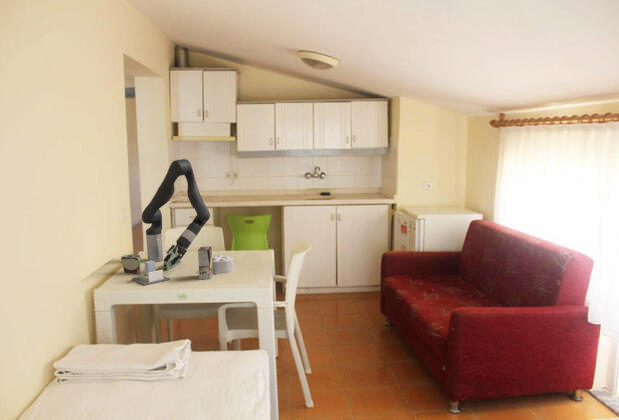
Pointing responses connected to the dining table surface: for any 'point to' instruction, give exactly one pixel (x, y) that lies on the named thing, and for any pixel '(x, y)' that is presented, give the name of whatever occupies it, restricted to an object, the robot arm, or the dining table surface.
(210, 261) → the coffee box
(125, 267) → the food container
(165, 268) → the handheld radio
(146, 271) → the block
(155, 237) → the robot arm
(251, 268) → the dining table surface
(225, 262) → the lumpy-topped squat cylinder
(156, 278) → the charging dock
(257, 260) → the dining table surface
